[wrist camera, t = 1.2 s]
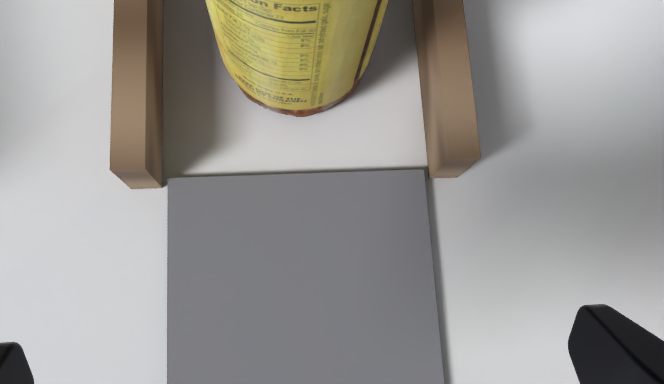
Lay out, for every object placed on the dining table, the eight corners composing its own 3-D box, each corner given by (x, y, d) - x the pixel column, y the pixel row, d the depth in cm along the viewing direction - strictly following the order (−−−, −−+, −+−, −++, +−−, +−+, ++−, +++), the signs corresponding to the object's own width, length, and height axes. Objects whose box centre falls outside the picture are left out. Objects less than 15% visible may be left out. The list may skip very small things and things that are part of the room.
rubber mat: (444, 412, 22) (447, 414, 22) (168, 433, 21) (166, 435, 21) (421, 171, 24) (424, 169, 24) (169, 180, 23) (167, 177, 23)
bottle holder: (457, 177, 24) (480, 157, 21) (131, 189, 23) (109, 169, 20) (429, -76, 27) (448, -124, 24) (135, -78, 26) (117, -129, 23)
